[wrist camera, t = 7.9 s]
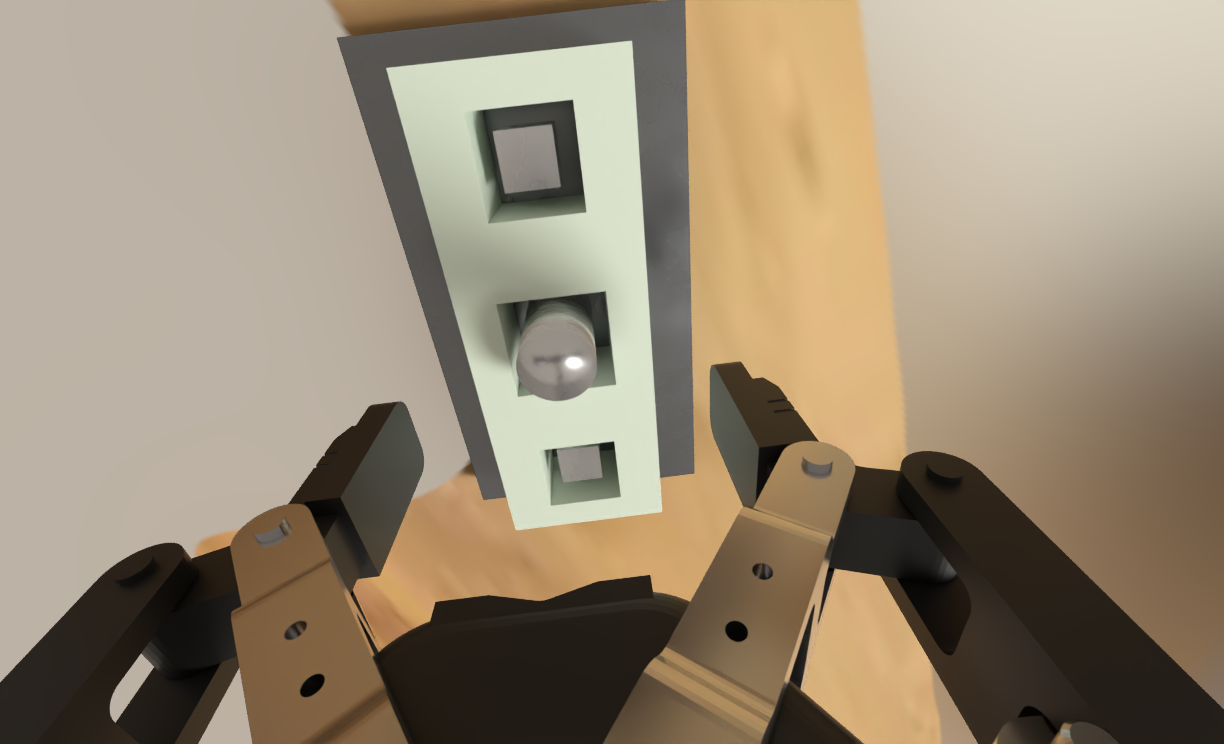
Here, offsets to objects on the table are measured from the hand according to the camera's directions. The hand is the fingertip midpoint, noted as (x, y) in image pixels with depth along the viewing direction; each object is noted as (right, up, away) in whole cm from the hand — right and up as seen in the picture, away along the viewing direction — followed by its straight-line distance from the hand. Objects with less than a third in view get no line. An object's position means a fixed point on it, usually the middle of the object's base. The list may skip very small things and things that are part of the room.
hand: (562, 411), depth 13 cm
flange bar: (-1, +3, +6) cm, 7 cm away
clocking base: (-1, +4, +7) cm, 8 cm away
